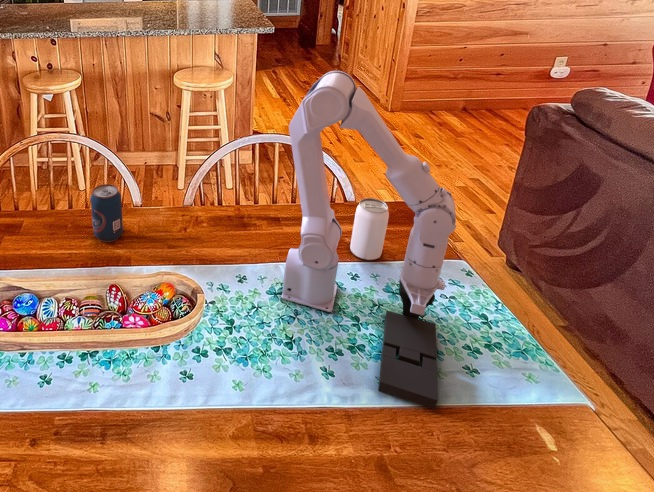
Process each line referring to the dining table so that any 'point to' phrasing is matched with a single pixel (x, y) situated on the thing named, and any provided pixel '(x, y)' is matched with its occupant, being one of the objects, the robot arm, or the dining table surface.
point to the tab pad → (410, 337)
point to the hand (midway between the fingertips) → (409, 317)
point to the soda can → (107, 212)
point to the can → (369, 229)
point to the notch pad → (408, 379)
